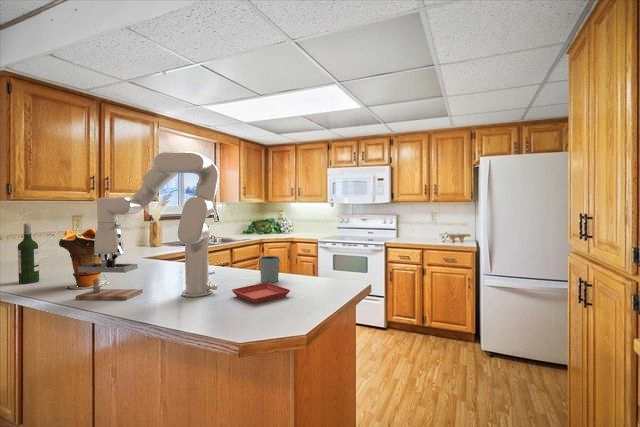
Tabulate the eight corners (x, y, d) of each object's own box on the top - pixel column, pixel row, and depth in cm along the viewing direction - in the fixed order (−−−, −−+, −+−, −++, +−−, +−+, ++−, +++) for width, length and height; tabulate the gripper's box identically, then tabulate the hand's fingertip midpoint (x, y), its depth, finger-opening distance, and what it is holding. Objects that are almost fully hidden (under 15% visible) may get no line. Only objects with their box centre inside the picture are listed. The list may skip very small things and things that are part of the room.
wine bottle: (41, 281, 172) (39, 223, 171) (22, 284, 165) (19, 224, 164) (35, 279, 176) (33, 222, 175) (16, 283, 169) (14, 223, 168)
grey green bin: (258, 279, 172) (258, 256, 171) (278, 278, 175) (277, 255, 174) (261, 284, 162) (260, 259, 162) (281, 282, 165) (281, 258, 165)
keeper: (142, 292, 148) (142, 275, 148) (126, 299, 137) (126, 281, 137) (95, 292, 149) (94, 275, 149) (75, 299, 138) (75, 281, 138)
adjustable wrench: (190, 284, 166) (190, 280, 166) (178, 283, 167) (178, 279, 167) (217, 273, 190) (217, 270, 190) (207, 272, 192) (207, 269, 192)
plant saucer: (291, 297, 140) (291, 289, 140) (254, 306, 128) (253, 298, 127) (266, 289, 153) (266, 282, 153) (230, 297, 141) (230, 289, 141)
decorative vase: (76, 292, 148) (72, 229, 148) (52, 289, 160) (49, 230, 160) (123, 282, 166) (120, 226, 166) (99, 280, 178) (96, 227, 178)
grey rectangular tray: (137, 268, 147) (137, 257, 146) (124, 272, 138) (124, 260, 137) (94, 267, 148) (93, 256, 148) (78, 271, 139) (77, 259, 139)
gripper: (131, 226, 145) (131, 268, 146) (96, 225, 146) (97, 267, 147) (120, 227, 138) (120, 271, 138) (83, 226, 139) (84, 271, 139)
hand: (108, 269), depth 143 cm, fingers closed on grey rectangular tray
